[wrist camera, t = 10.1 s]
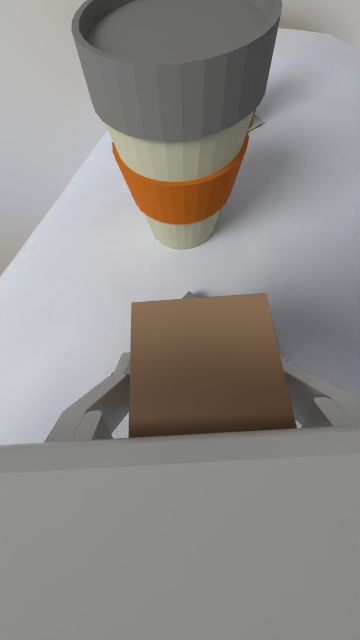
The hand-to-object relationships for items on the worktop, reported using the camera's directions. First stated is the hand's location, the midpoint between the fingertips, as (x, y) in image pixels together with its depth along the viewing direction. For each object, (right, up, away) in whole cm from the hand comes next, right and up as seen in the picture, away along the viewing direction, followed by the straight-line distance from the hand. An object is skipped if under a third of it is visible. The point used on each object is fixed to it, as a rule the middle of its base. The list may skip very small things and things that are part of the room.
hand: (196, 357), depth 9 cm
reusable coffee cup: (0, +16, +15) cm, 22 cm away
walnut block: (0, -2, +5) cm, 5 cm away
